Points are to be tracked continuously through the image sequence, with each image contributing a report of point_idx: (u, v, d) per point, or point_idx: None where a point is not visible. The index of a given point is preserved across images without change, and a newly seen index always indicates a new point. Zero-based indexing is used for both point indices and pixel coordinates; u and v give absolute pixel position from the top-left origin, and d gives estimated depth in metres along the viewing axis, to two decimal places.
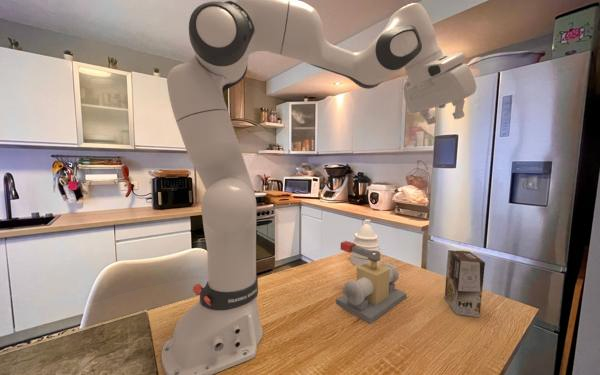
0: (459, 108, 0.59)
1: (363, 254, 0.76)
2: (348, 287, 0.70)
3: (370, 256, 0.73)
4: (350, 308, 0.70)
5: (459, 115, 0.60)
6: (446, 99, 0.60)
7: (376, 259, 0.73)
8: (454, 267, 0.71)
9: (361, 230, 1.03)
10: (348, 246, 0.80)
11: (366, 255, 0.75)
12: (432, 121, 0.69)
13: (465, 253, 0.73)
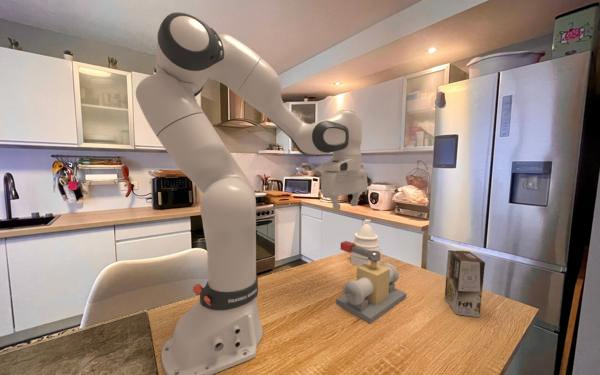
0: (333, 202, 0.74)
1: (363, 254, 0.76)
2: (348, 287, 0.70)
3: (370, 256, 0.73)
4: (350, 308, 0.70)
5: (333, 207, 0.75)
6: None
7: (376, 259, 0.73)
8: (454, 267, 0.71)
9: (361, 230, 1.03)
10: (348, 246, 0.80)
11: (366, 255, 0.75)
12: (352, 204, 0.81)
13: (465, 253, 0.73)
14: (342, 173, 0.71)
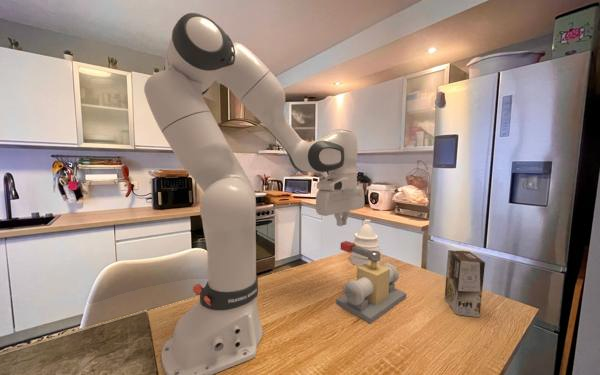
0: (337, 218, 0.77)
1: (363, 254, 0.76)
2: (348, 287, 0.70)
3: (370, 256, 0.73)
4: (350, 308, 0.70)
5: (337, 223, 0.78)
6: None
7: (376, 259, 0.73)
8: (454, 267, 0.71)
9: (361, 230, 1.03)
10: (348, 246, 0.80)
11: (366, 255, 0.75)
12: None
13: (465, 253, 0.73)
14: (336, 192, 0.72)
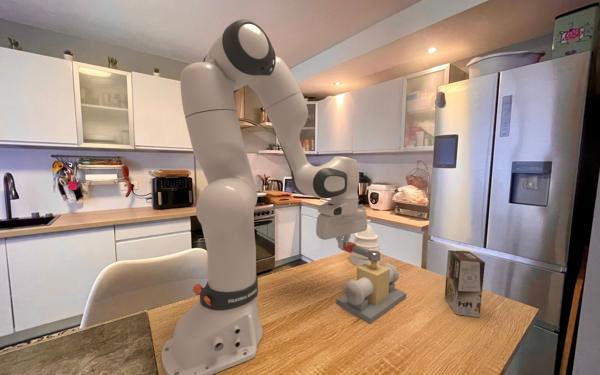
0: (338, 241, 0.79)
1: (363, 254, 0.76)
2: (348, 287, 0.70)
3: (370, 256, 0.73)
4: (350, 308, 0.70)
5: (338, 245, 0.80)
6: None
7: (376, 259, 0.73)
8: (454, 267, 0.71)
9: None
10: (348, 246, 0.80)
11: (366, 255, 0.75)
12: None
13: (465, 253, 0.73)
14: (336, 217, 0.74)
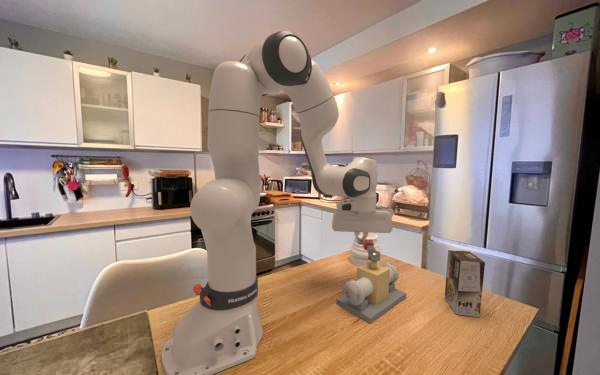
0: (356, 236, 0.85)
1: None
2: (348, 287, 0.70)
3: (368, 254, 0.75)
4: (350, 308, 0.70)
5: (357, 241, 0.85)
6: None
7: (371, 259, 0.73)
8: (454, 267, 0.71)
9: None
10: (364, 243, 0.83)
11: None
12: None
13: (465, 253, 0.73)
14: (346, 212, 0.81)
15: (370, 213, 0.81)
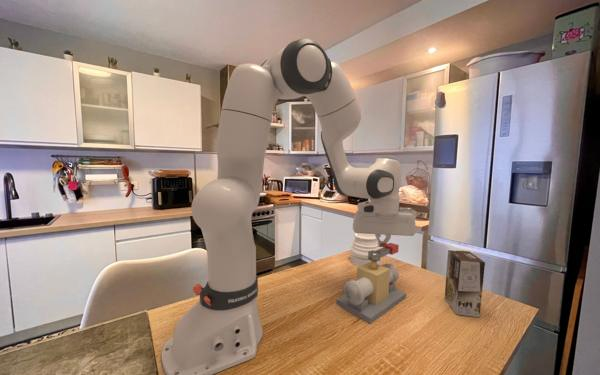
0: (377, 239, 0.83)
1: None
2: (348, 287, 0.70)
3: None
4: (350, 308, 0.70)
5: (378, 243, 0.83)
6: None
7: (368, 257, 0.74)
8: (454, 267, 0.71)
9: None
10: None
11: None
12: None
13: (465, 253, 0.73)
14: (368, 214, 0.79)
15: (393, 215, 0.79)
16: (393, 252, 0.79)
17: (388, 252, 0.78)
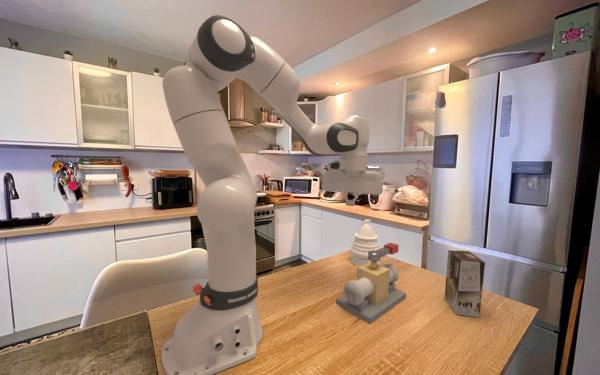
0: None
1: None
2: (348, 287, 0.70)
3: None
4: (350, 308, 0.70)
5: None
6: None
7: (368, 257, 0.74)
8: (454, 267, 0.71)
9: (361, 230, 1.03)
10: None
11: None
12: None
13: (465, 253, 0.73)
14: (335, 171, 0.81)
15: (359, 173, 0.80)
16: (393, 252, 0.79)
17: (388, 252, 0.78)
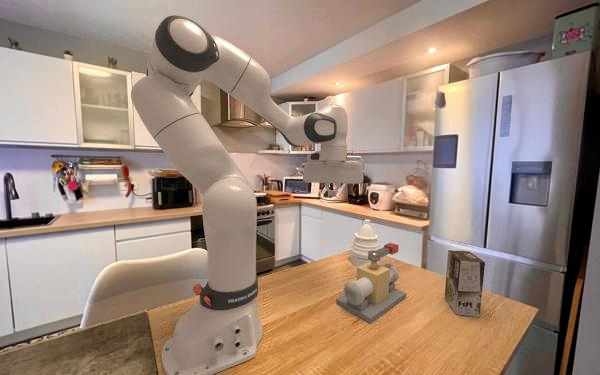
0: None
1: None
2: (348, 287, 0.70)
3: None
4: (350, 308, 0.70)
5: None
6: None
7: (368, 257, 0.74)
8: (454, 267, 0.71)
9: (361, 230, 1.03)
10: None
11: None
12: None
13: (465, 253, 0.73)
14: (315, 162, 0.81)
15: (339, 163, 0.80)
16: (393, 252, 0.79)
17: (388, 252, 0.78)
